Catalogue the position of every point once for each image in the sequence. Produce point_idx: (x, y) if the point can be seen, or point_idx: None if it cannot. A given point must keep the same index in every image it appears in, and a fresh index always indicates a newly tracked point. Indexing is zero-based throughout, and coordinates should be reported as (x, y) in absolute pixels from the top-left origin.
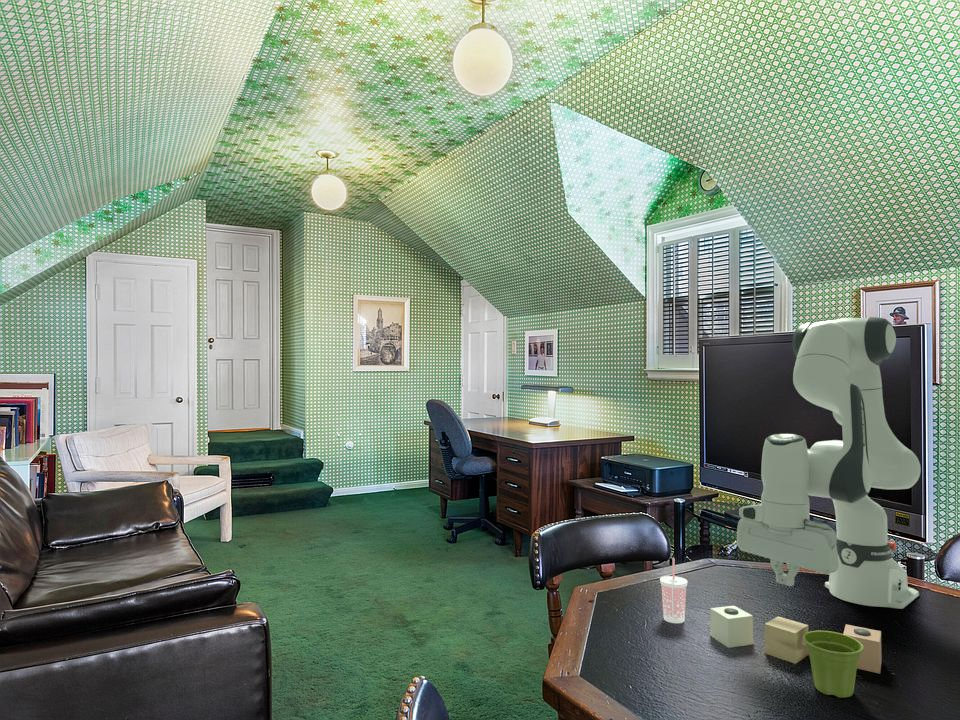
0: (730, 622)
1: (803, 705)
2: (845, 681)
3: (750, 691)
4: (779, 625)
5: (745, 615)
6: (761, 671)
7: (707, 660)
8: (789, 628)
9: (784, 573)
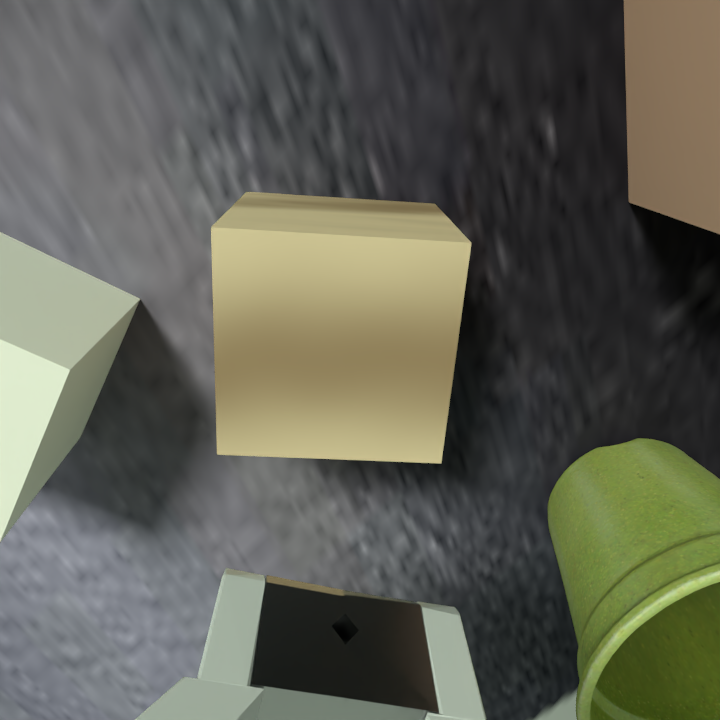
0: (18, 512)
1: (546, 674)
2: (716, 601)
3: None
4: (305, 408)
5: (29, 402)
6: (326, 552)
7: (107, 614)
8: (381, 412)
9: (275, 687)
